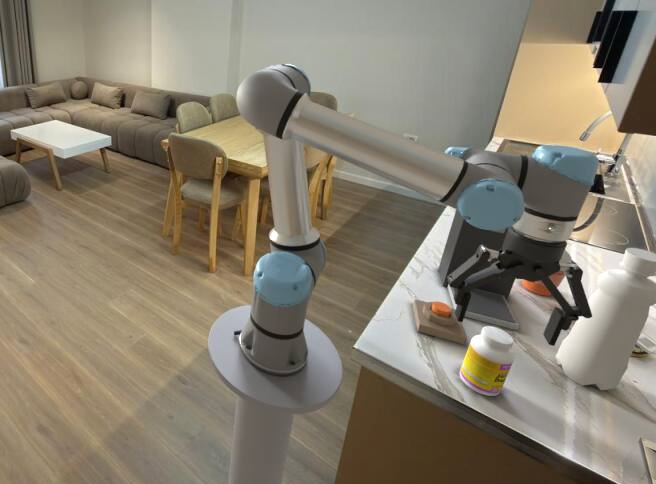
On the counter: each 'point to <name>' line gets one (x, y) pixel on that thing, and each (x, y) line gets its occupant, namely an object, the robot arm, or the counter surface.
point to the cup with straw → (555, 278)
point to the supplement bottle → (488, 361)
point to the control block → (437, 323)
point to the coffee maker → (487, 298)
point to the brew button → (441, 309)
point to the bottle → (611, 323)
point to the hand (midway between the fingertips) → (501, 328)
